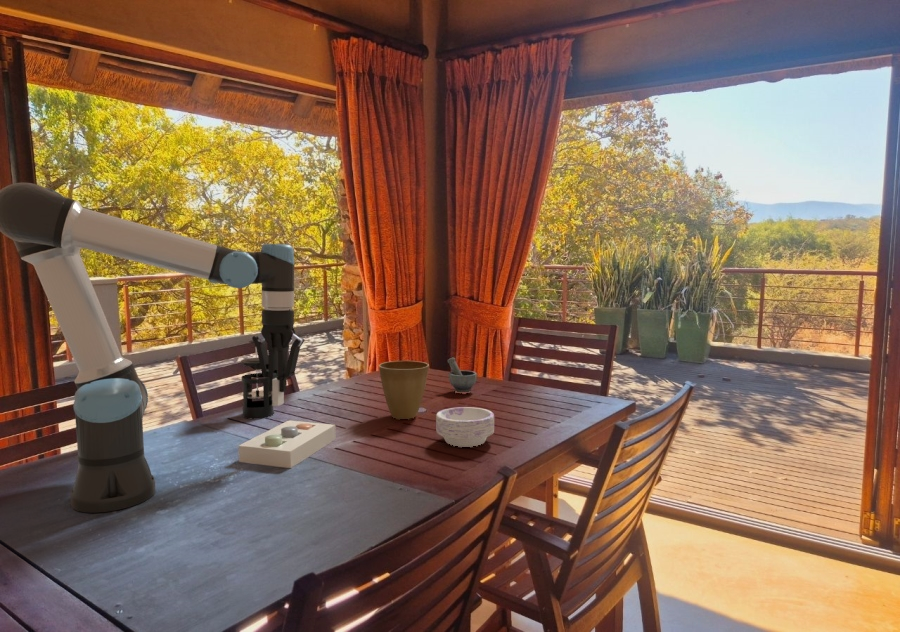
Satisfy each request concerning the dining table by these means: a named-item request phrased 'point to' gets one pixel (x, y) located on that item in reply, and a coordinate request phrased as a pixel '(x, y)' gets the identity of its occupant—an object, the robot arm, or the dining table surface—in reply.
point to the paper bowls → (465, 425)
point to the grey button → (289, 432)
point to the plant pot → (403, 386)
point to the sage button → (273, 440)
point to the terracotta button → (304, 426)
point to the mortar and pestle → (461, 377)
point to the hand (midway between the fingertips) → (278, 404)
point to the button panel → (287, 445)
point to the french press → (261, 406)
